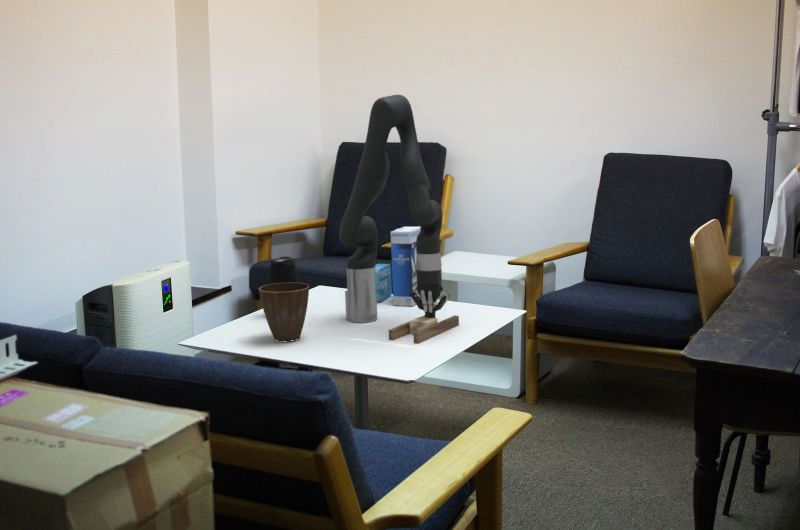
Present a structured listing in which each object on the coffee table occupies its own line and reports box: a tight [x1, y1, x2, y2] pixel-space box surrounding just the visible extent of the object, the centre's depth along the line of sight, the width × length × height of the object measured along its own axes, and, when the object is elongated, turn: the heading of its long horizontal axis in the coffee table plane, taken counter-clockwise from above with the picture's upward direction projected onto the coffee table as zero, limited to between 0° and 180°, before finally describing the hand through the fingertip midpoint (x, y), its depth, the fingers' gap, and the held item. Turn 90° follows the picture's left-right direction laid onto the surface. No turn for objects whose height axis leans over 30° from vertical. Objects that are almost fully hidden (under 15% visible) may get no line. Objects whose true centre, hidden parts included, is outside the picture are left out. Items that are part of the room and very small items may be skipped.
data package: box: [375, 263, 393, 303], centre depth 328 cm, size 12×4×12 cm, turn 159°
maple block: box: [409, 316, 438, 335], centre depth 276 cm, size 6×6×4 cm
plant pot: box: [258, 282, 310, 342], centre depth 276 cm, size 15×15×16 cm
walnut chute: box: [388, 314, 460, 345], centre depth 277 cm, size 10×24×4 cm, turn 148°
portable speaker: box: [268, 255, 299, 285], centre depth 306 cm, size 9×9×20 cm
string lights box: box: [390, 226, 422, 307], centre depth 320 cm, size 13×8×26 cm, turn 160°
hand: (430, 323), depth 280 cm, fingers closed
